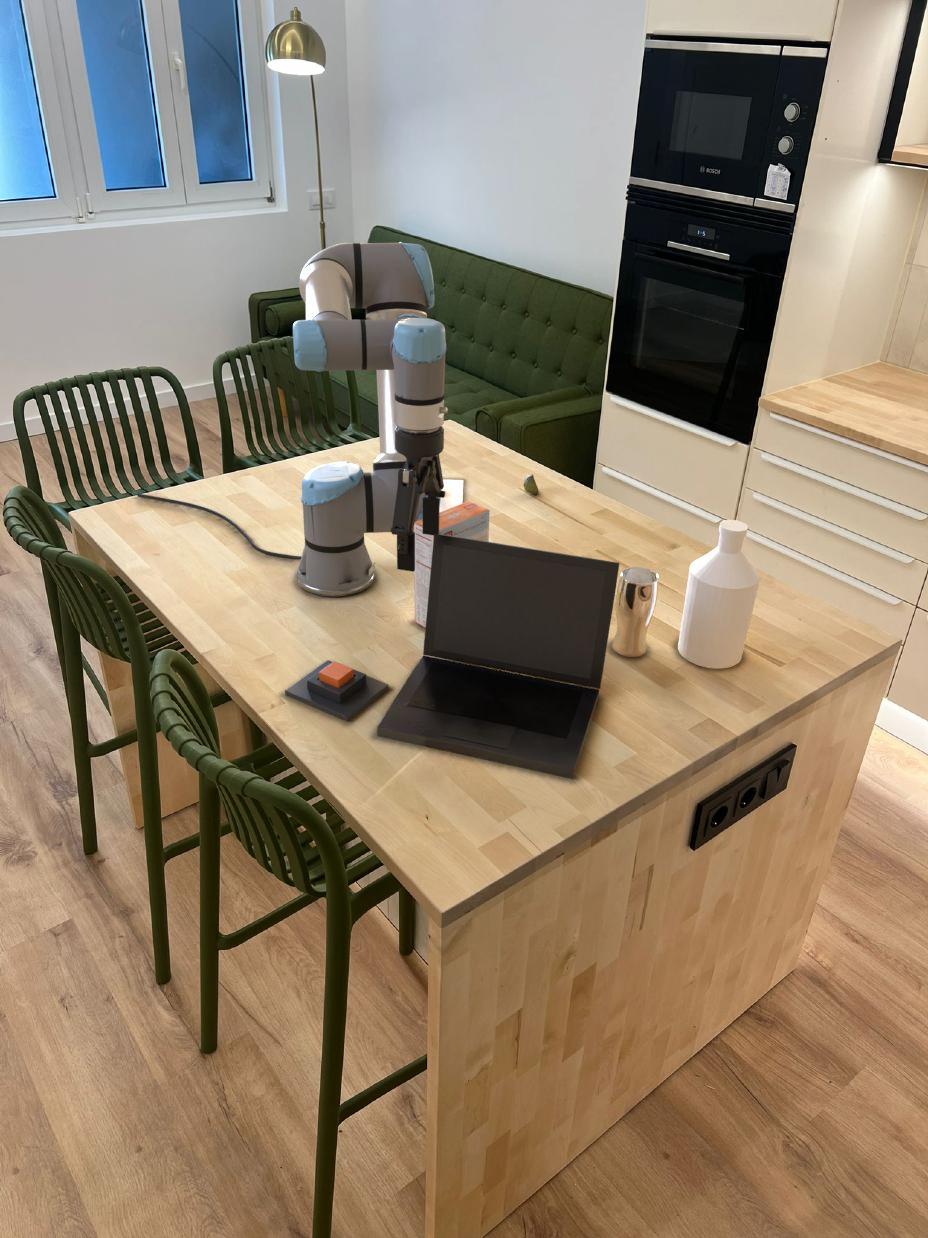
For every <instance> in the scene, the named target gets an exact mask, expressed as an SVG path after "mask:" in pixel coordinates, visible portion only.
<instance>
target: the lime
mask: <svg viewBox="0 0 928 1238" xmlns="http://www.w3.org/2000/svg"><path fill="white" fill-rule="evenodd" d="M523 489H524V491H525V492H526V493H527V494H530V495H532V496H538V495H540V491H539V487H538V485H537V483H536V480H535V476H534V474H533V473H530V474H528V475H527V476H526V477H525V478H524V481H523Z"/></svg>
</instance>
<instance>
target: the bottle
mask: <svg viewBox="0 0 928 1238" xmlns="http://www.w3.org/2000/svg"><path fill="white" fill-rule="evenodd" d="M718 527H719V528H718V532H719V537H718V543H717V546H716V547H715V548H713V549H712V550H710V551H709V552H708V553H706V554H704V555H703V556H701V557H699V558H697V559H695V560H694V561H692V562H691V563H690V565H689V569H688V570H689V571H688V576H687V583H686V584H687V585H686V591H685V596H684V597H685V598H684V603H683V609H682V610H683V611H682V616H681V617H682V618H681V624H680V630H679V637H678V643H677V650H678V652H679V654H680V655H681V657H683V658H684V659H685V660H686V661H687V662H689V663H692V664H694V665H696V666H700V667H703V668H708V669H719V670H721V669H728V668H731V667H734V666H736V665H738V664H739V663H740V662H741V661H742V657H743V654H744V649H745V646H746V641H747V637H748V633H749V628H750V624H751V620H752V615H753V611H754V606H755V603H756V598H757V594H758V590H759V586H760V581H761V574H760V571H759V570H758V569H757V568H756V567H755V566H754V565H753V564H752V563H751V562H750V560H749V559H748V558H747V556H746V555H745V553H744V551H742V549H743V543H744V541H745V537H746V536H747V534H748V529H749V526H748V525H747V523H745V522H743V521H741V520H737V519H736V520H735V519H723V520H722V521H720V523H719V526H718Z"/></svg>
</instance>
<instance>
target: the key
mask: <svg viewBox="0 0 928 1238" xmlns="http://www.w3.org/2000/svg"><path fill="white" fill-rule="evenodd" d="M333 661H334V662H333ZM333 661H332V662H333V663H331V664H330V665H329V666H327V667H326V668H324V669H323V670H322V671H320V672H319V681H322V682H324V683H327V684H329V685H331V686H334V687H336V688H340V687H341V686H343V685H344V684H345V683H347V682H348V681H349V680H351V679H352V678H353V677H354V671H353V669H354V668H352V667H350V666H347V665H345V664H342V663H340V662H337V661H335V660H333Z"/></svg>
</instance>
